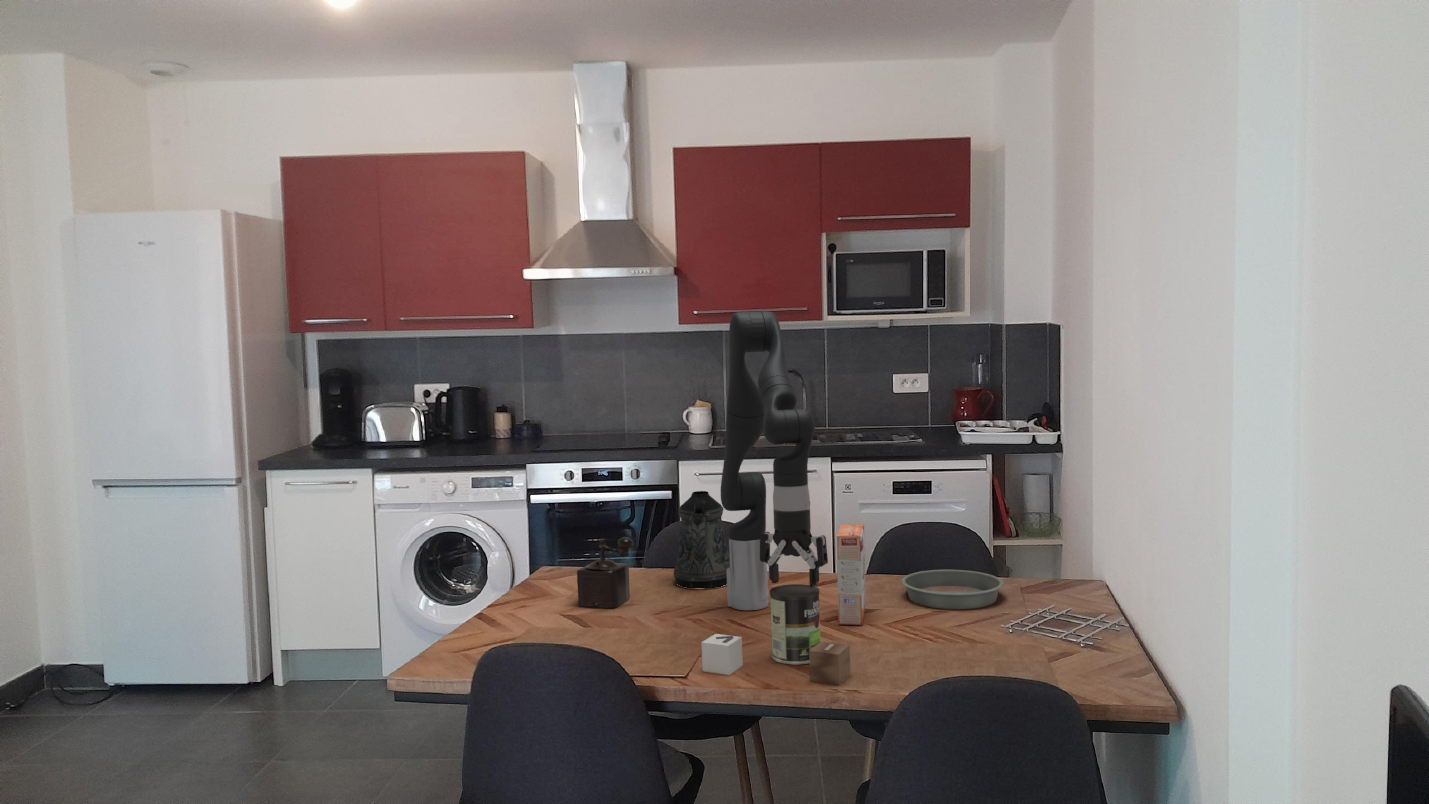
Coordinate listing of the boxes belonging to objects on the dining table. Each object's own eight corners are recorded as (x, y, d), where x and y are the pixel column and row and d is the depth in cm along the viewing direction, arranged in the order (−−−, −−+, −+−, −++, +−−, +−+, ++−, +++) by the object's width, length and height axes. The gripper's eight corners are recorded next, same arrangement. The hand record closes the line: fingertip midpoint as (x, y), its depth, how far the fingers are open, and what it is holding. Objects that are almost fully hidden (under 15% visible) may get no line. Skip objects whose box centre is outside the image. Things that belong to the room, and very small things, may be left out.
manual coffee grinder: (575, 607, 246) (572, 537, 245) (594, 596, 257) (591, 528, 256) (632, 611, 241) (628, 539, 240) (649, 599, 252) (646, 530, 251)
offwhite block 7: (702, 671, 196) (701, 641, 195) (716, 662, 201) (715, 632, 201) (729, 675, 193) (728, 644, 193) (742, 665, 198) (741, 635, 198)
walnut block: (810, 681, 188) (809, 649, 188) (821, 671, 193) (820, 640, 193) (839, 685, 185) (838, 653, 185) (850, 675, 191) (849, 644, 190)
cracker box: (864, 626, 222) (861, 535, 220) (837, 625, 223) (835, 535, 222) (867, 609, 235) (864, 523, 234) (842, 608, 237) (839, 523, 235)
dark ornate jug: (719, 572, 278) (716, 485, 276) (749, 586, 260) (745, 494, 259) (665, 579, 271) (661, 490, 270) (691, 595, 254) (688, 500, 252)
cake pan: (1024, 598, 240) (1024, 580, 240) (956, 618, 226) (956, 599, 226) (948, 580, 260) (947, 563, 260) (881, 597, 246) (881, 579, 246)
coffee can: (829, 652, 204) (827, 586, 203) (807, 667, 195) (805, 598, 194) (786, 646, 209) (783, 581, 209) (762, 660, 201) (760, 593, 200)
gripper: (752, 507, 200) (755, 585, 201) (816, 511, 194) (819, 591, 195) (767, 502, 207) (770, 577, 208) (830, 504, 200) (833, 582, 201)
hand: (794, 584), depth 201 cm, fingers open, 8 cm apart
